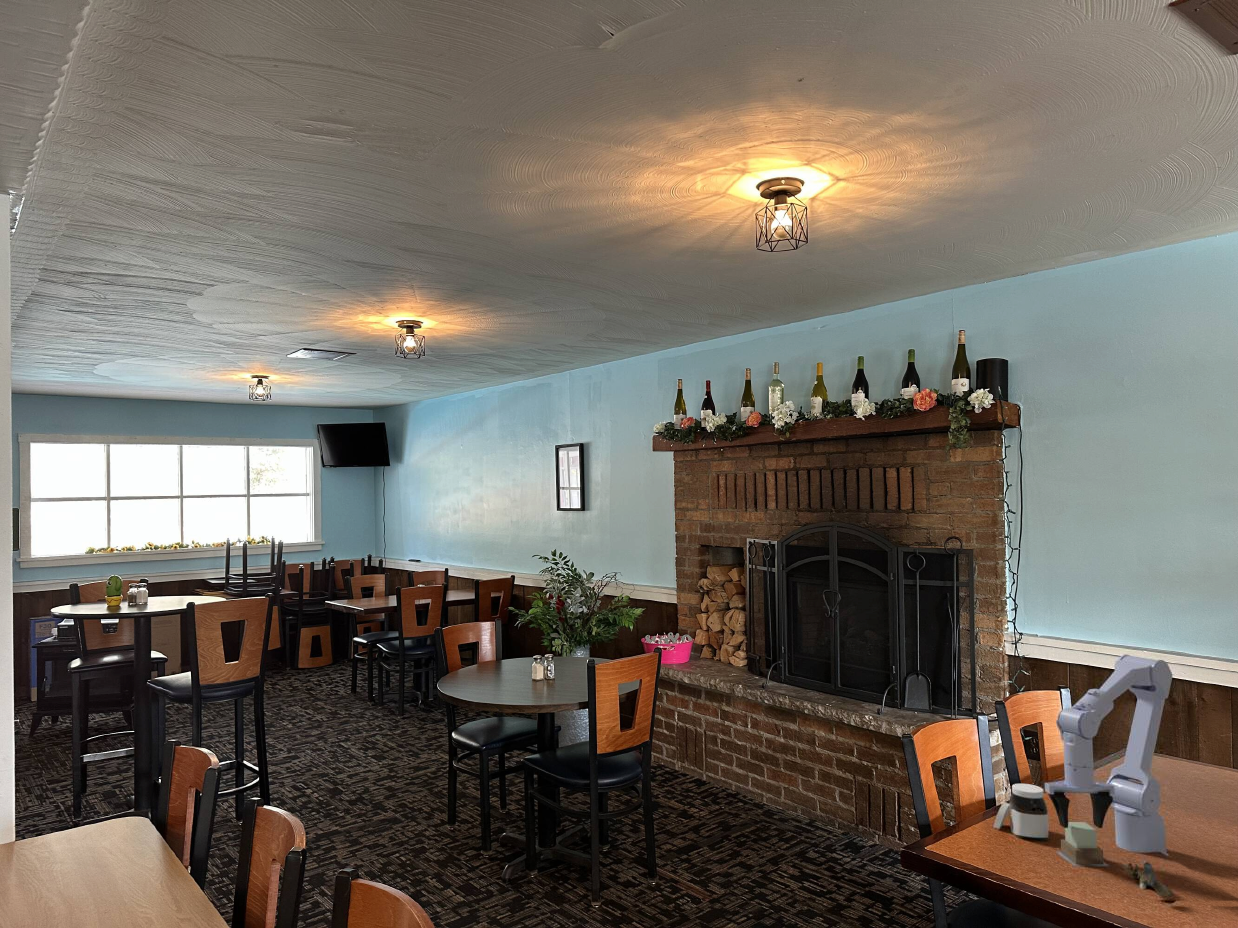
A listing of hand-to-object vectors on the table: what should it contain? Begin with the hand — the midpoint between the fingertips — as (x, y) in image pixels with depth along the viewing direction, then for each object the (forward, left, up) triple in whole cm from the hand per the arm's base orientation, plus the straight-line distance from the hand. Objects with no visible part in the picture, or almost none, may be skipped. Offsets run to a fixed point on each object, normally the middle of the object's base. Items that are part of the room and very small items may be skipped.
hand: (1081, 826), depth 183 cm
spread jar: (+6, -16, -8) cm, 19 cm away
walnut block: (0, 0, -7) cm, 7 cm away
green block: (0, 0, -4) cm, 4 cm away
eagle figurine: (-5, +15, -8) cm, 18 cm away
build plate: (0, -2, -8) cm, 8 cm away
